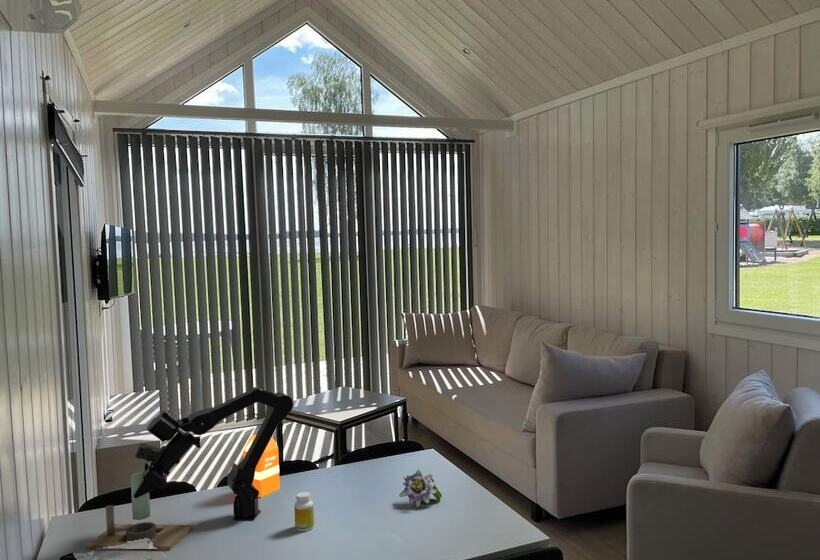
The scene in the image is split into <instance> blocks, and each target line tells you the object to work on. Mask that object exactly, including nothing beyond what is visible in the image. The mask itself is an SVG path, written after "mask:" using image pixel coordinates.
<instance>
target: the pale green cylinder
mask: <svg viewBox="0 0 820 560" xmlns="http://www.w3.org/2000/svg"><path fill="white" fill-rule="evenodd" d="M144 472H145V471H140V472H135V473H132V474H131V475H130V486H131V487H130V488H131V490H130V491H131V511H132V512H131V513H132V520H134V521H141V520H145V519H148V518H149V517H151V504H150V503H151V502H150V501H151V500H150V492H148V493H146V494H144V495H142V496H140V497H138V498H134V497H133V495H134V494H135V492H136V491H137V489H138V488H139V486H140V484H141V483H142V481H143V480H144V479H143V473H144Z"/></svg>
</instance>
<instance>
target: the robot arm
mask: <svg viewBox="0 0 820 560" xmlns="http://www.w3.org/2000/svg"><path fill="white" fill-rule="evenodd" d="M257 403H261V404H264V405H266V406H267V407H266V411H265V412H266V413H265V417H264V419H263V422H262V424H261V425H260V427H259V429H258V431H257V433H256V434H255V435H256V436H255V438H254V440H253V442H252V444H251V446H250V448H249V450H248V451H247V453H246V455H245V457H244V459H242V460H241V461H240V462H239V463H238V464H237V463H235V462H234V463H232V466H231V469H230V470H229V472H228V473H227V474H226V476H227V481H226V483H227V486H228V487H229V489H231V491H232V492H233V494H235V495H236V496H234V501H233V503H232V504H233V517H232V518H233V520H234V521H238V520H239V521H240V520H241V521H243V520H244V521H248V520H249V521H254V520H255V519H256V518H257V517H258V515H260V513H261V511H262V510H261V509H259V498H258V495H259V491H258V490H257V488H256V487H255V486H254V485H253V484H252V483H253V480H254V476H255V469H256V466H257V464H258V462H259V460H260V458H261V457H262V455H263V453H264V451H265V449H266V447H267V445H268V443H269V441H270V439H271V437H273V436H274V434H275V432H276V430H277V428H278V426H279V425H280V424H281V422H283V421H284V420H285V419H286V418H287V417H288V415H289V414H290V413H291V411H293V409H294V401H293V399H292V397H291V396H289V395H287V394H285V393H283V392H281V391H280V392H275V393H273V392H270V391H268V390H264V389H261V388H260V387H257V386H254V387H251V388H250V389H249V390H246V391H245V392H243V393H241V394H238V395H236V396H235V397H233V398H230V399H229V400H227V401H224V402H222V403H220V404H218V405H216V406H213V407H209V408H204V409H201V410H197V411H194V412H191V413H190V414H189V415H188V416H186V417H183V418H180V419H179V418H178V419H175V418H173V417H172V416H170V414H169V413H168V412H166V411H165V410H164V411H162V412H161V413H159V414H158V415H157V416H156V417H154V418H153V419H152V420H151V421H150V422H149V424H148V426H147V427H146V431H147V432H148V433H150V434H151V435H153V436H154V437H156V438H157V439H158V440H160V441H161V442H165V441H167V444H164V445H162V446H161V447H160V448H159V447H156V446H153V445H150V444H146V443H143V442H141V443H140V442H139V445H138V447H137V449H136V452H135V454H134V458H136V459H139V460H145V461H146V462H144V471H143V472H144V473H143V479H144V480H143V481H142V483H141V484H140V486H139V488H138V489H137V491H136V492H135V494H134V495H133V497H134V498H138V497H140V496H142V495H144V494H146V493H148V492H149V493H150V492H152V491H155V490H157V489H159V490H160V491H163V489H164V488H165V487H166V485H167V484H168V483H167V482H168V481H167V477H168V475H170V472H171V470H172V469H173V468H174V467H175V466H176V465H178V464H179V463H180V462H181V459H182V458H183V457H184V456H185V454H186V453H187V452H188V451H189V450H190V449H191V448H192V447H193V446H195V447H196V448H198V449H200V448H201V440H202V439H201V436H202V435H204V434H206V433H208V432H209V431H210V430H212V429H213V428H215V427H216V426H217V425H218V424H219V423H220V422H221V421H223V420H225V419H226V418H229V417H230V416H232V415H234V414H236V413H238V412H241V411H242V410H244V409H246V408H249V407H250V406H253V405H255V404H257ZM192 433H193V434H194V435H193V434H192ZM195 435H196V436H195ZM147 462H149V463H147Z"/></svg>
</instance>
